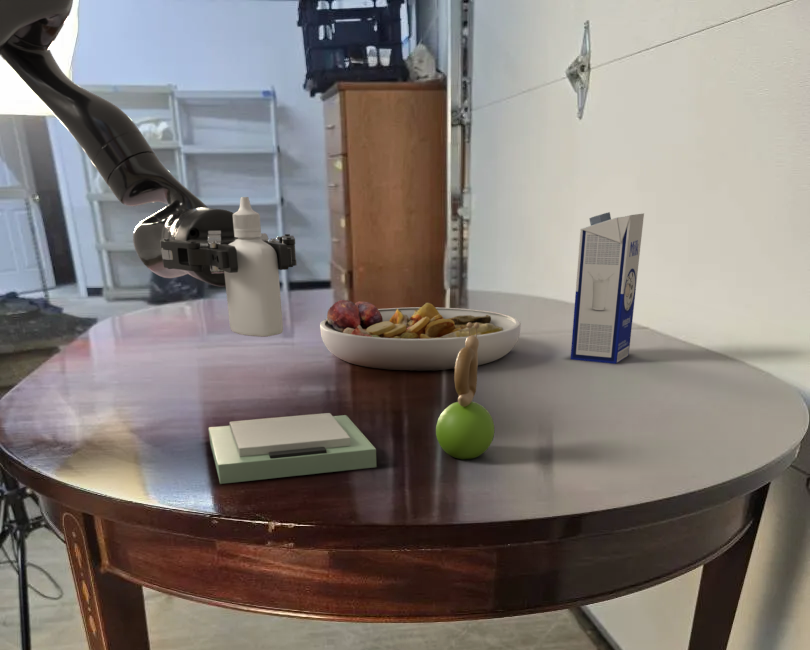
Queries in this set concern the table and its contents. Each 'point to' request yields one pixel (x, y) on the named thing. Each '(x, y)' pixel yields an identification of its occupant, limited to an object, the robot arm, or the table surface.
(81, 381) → the table surface
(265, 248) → the eye dropper bottle
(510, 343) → the bowl
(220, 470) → the scale
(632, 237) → the milk carton
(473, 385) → the snail figurine
